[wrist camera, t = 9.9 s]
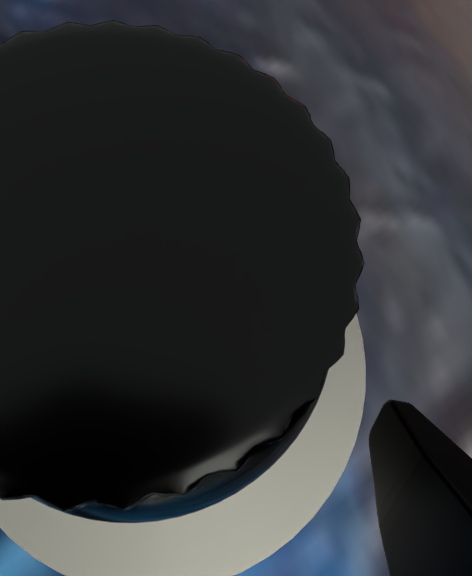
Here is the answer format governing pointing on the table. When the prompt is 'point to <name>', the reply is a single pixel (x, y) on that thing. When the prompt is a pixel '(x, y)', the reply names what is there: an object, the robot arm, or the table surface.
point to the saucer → (220, 517)
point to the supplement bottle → (160, 271)
